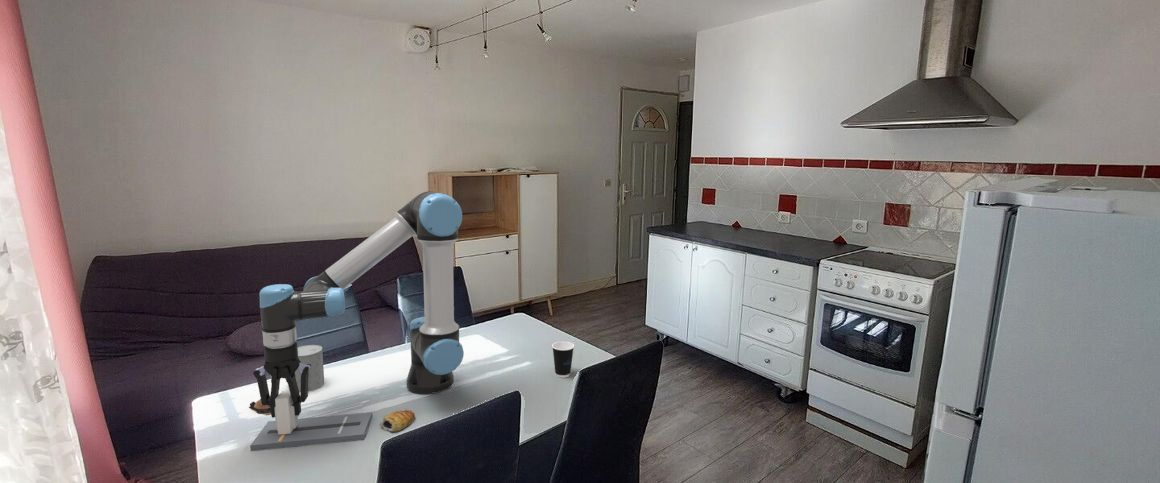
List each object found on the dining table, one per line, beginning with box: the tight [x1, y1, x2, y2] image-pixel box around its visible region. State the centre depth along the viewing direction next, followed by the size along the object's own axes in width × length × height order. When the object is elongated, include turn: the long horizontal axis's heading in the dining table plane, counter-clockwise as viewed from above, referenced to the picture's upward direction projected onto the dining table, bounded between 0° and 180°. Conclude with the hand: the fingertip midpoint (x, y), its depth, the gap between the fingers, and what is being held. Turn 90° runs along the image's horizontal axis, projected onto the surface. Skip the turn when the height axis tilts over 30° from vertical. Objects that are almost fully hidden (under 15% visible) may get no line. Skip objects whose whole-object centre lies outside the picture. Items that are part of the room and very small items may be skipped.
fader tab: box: [275, 389, 293, 435], centre depth 131 cm, size 3×5×10 cm, turn 13°
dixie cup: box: [551, 340, 575, 379], centre depth 173 cm, size 8×8×11 cm
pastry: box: [379, 409, 416, 433], centre depth 139 cm, size 9×7×4 cm
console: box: [249, 411, 373, 452], centre depth 134 cm, size 27×12×2 cm, turn 103°
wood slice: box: [248, 398, 271, 416], centre depth 148 cm, size 11×8×4 cm
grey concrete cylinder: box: [295, 344, 326, 393], centre depth 160 cm, size 10×10×12 cm
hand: (287, 426), depth 132 cm, fingers closed on fader tab, 3 cm apart
